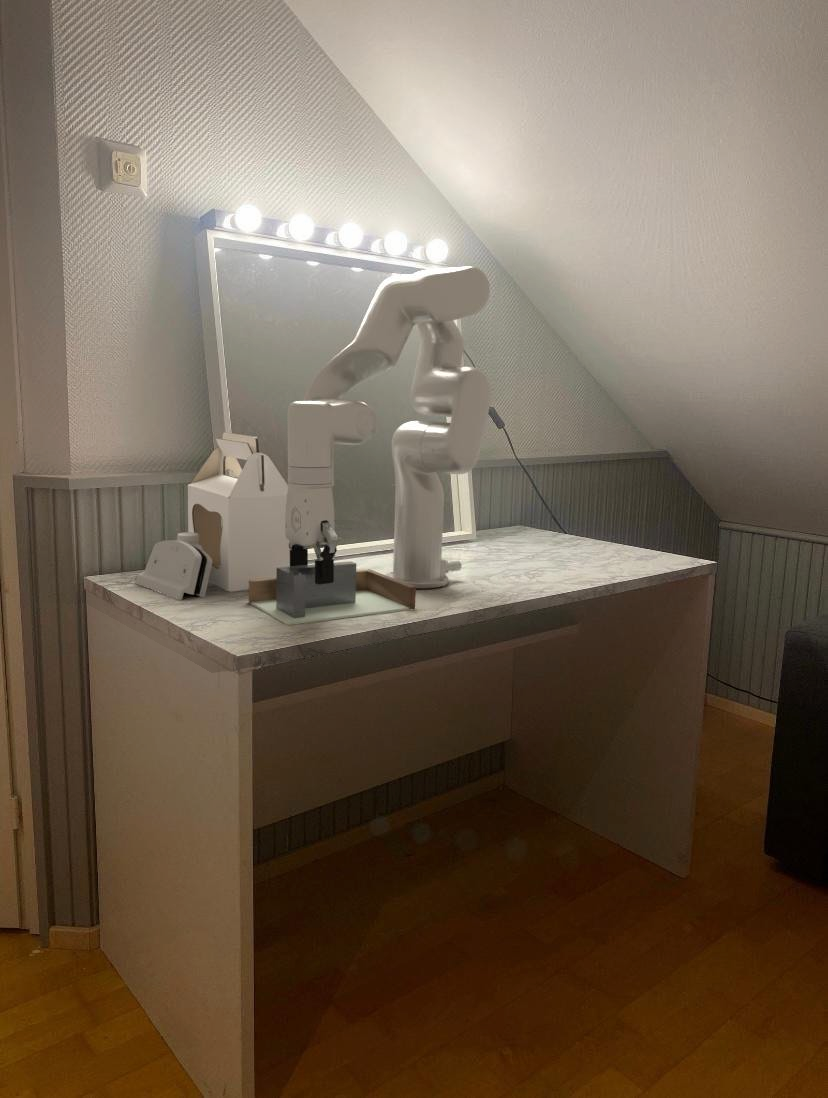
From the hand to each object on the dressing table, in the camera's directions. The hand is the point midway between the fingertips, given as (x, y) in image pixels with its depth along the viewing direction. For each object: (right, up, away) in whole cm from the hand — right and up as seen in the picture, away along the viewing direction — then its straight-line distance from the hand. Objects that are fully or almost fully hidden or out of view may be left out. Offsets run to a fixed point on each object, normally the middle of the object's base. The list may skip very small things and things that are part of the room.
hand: (311, 577), depth 142 cm
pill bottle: (-26, -1, +20) cm, 33 cm away
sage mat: (+3, -5, +2) cm, 6 cm away
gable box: (-17, -1, +23) cm, 28 cm away
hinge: (-26, -3, +11) cm, 29 cm away
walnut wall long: (-1, -4, +9) cm, 10 cm away
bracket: (+2, -5, -1) cm, 6 cm away
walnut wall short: (+13, -4, +9) cm, 16 cm away
